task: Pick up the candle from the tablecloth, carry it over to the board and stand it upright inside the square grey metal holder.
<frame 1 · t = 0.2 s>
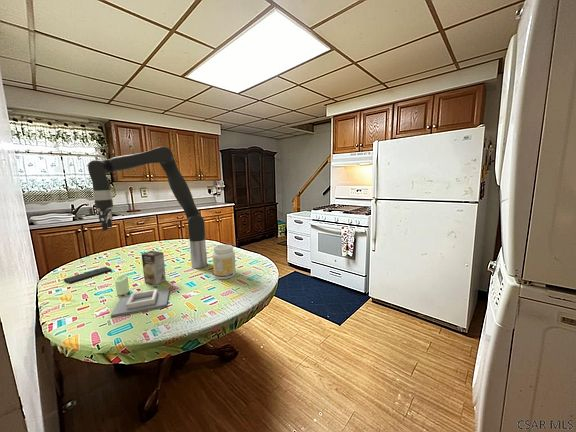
hand: (107, 228, 125), 29 cm above the table, tool pointing down, fingers open, 8 cm apart
holder board: (143, 302, 104), on the table
supplement tub: (225, 275, 132), on the table
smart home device: (89, 276, 135), on the table
coffee box: (155, 281, 126), on the table
candle: (123, 292, 114), on the table
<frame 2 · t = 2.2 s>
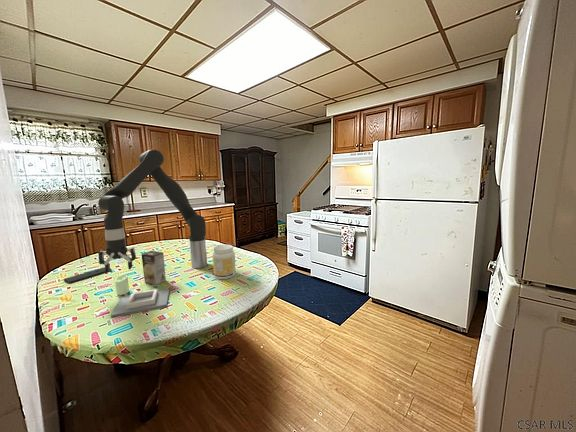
hand: (119, 270, 112), 12 cm above the table, tool pointing down, fingers open, 8 cm apart
nothing on the table moved.
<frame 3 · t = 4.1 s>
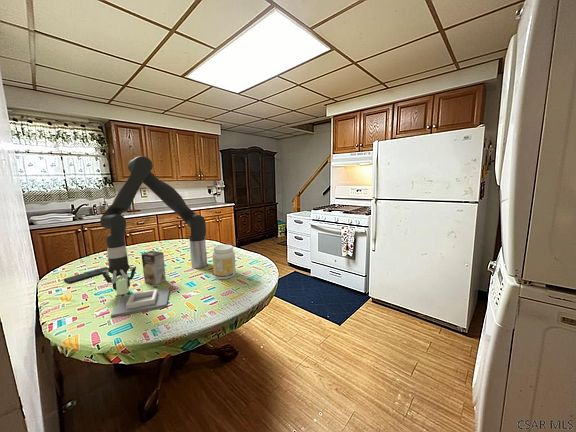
hand: (121, 288, 113), 2 cm above the table, tool pointing down, fingers closed on candle, 4 cm apart
candle: (123, 292, 114), on the table, touching gripper
everything else where it was.
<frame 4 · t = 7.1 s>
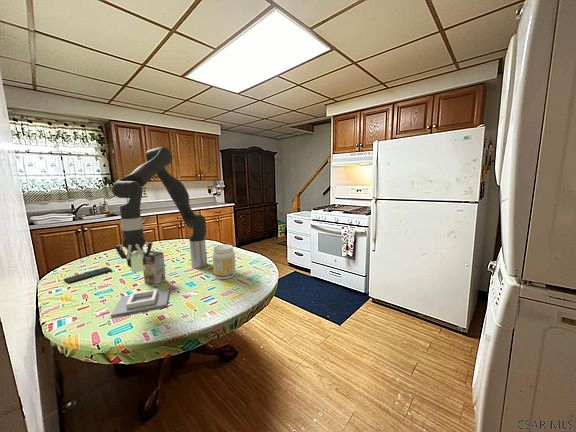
hand: (137, 265, 102), 17 cm above the table, tool pointing down, fingers closed on candle, 4 cm apart
candle: (138, 270, 102), point 15 cm above the table, touching gripper
everything else where it was.
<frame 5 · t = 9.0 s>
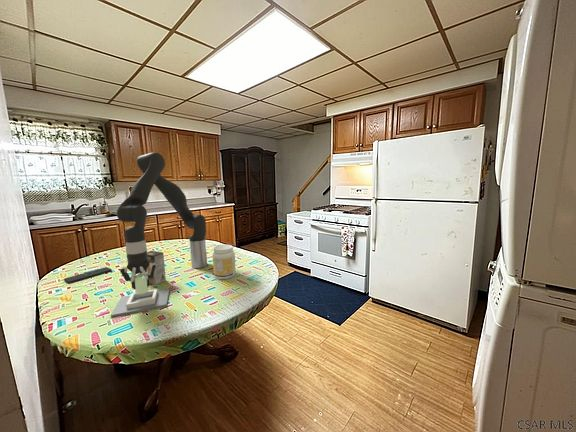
hand: (141, 287, 103), 7 cm above the table, tool pointing down, fingers closed on candle, 4 cm apart
candle: (142, 292, 103), point 5 cm above the table, touching gripper
everything else where it was.
when the fingers open (4 cm above the table, at t = 10.4 s): candle drops 1 cm, resting on holder board.
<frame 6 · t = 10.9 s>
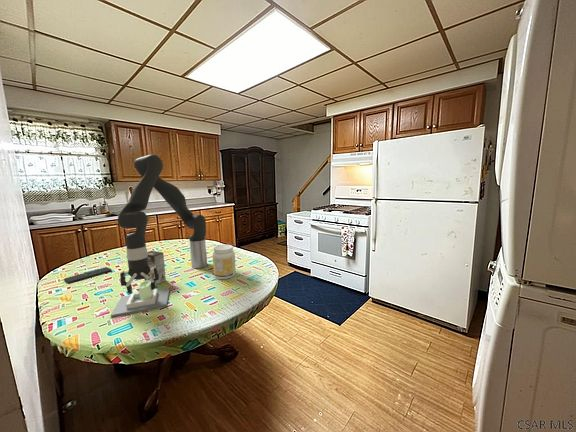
hand: (142, 291, 103), 5 cm above the table, tool pointing down, fingers open, 8 cm apart
candle: (146, 300, 105), point 1 cm above the table, touching holder board
everything else where it was.
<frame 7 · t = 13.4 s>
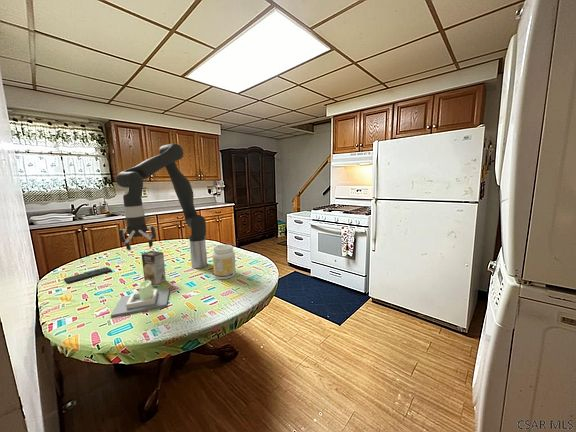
hand: (140, 248, 110), 22 cm above the table, tool pointing down, fingers open, 8 cm apart
nothing on the table moved.
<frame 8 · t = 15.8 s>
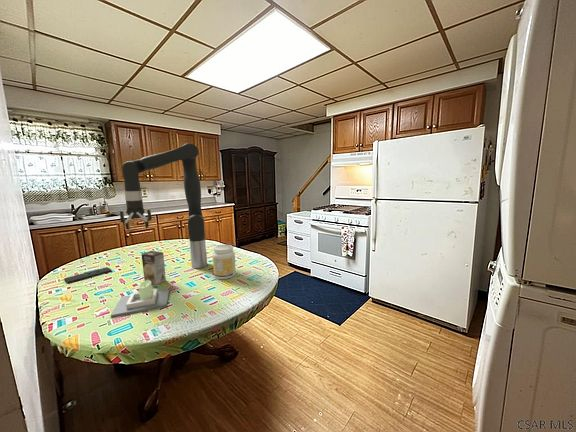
hand: (137, 228, 127), 28 cm above the table, tool pointing down, fingers open, 8 cm apart
nothing on the table moved.
at the end: candle 1.4 cm off-centre on the holder board, point 0.8 cm above the holder board's base; candle tilted 0°; the gripper is holding nothing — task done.
